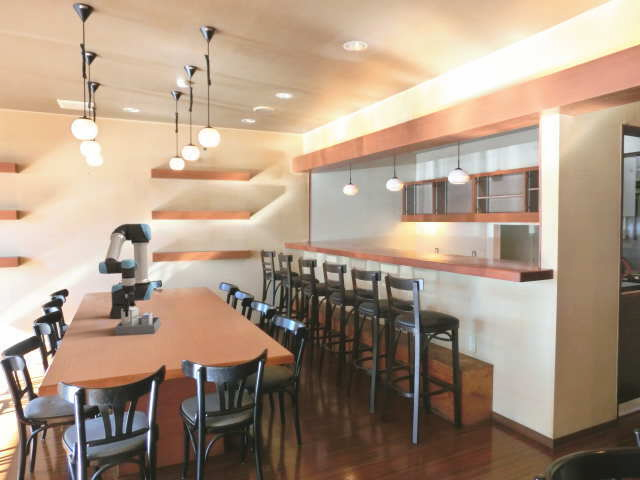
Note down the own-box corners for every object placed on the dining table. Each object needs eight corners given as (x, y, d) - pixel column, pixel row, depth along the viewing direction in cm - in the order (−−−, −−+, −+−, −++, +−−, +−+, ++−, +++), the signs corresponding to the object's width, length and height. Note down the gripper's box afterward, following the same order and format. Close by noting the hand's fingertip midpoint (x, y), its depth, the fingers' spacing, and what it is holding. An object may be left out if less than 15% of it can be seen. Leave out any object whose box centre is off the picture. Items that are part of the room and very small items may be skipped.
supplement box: (132, 330, 266) (131, 309, 266) (121, 330, 268) (120, 309, 267) (139, 327, 274) (138, 307, 273) (128, 327, 275) (127, 306, 274)
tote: (124, 326, 280) (123, 318, 280) (160, 324, 284) (160, 317, 284) (115, 335, 259) (114, 327, 258) (154, 333, 263) (154, 325, 263)
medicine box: (145, 326, 276) (145, 312, 276) (152, 326, 277) (152, 312, 276) (141, 329, 268) (141, 315, 268) (149, 329, 269) (148, 315, 268)
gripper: (126, 281, 281) (128, 314, 282) (116, 288, 257) (118, 324, 258) (139, 281, 282) (140, 314, 284) (130, 287, 258) (131, 323, 259)
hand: (129, 319), depth 271 cm, fingers open, 13 cm apart
